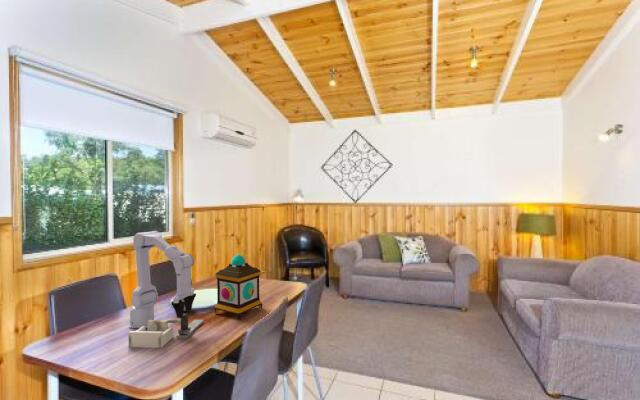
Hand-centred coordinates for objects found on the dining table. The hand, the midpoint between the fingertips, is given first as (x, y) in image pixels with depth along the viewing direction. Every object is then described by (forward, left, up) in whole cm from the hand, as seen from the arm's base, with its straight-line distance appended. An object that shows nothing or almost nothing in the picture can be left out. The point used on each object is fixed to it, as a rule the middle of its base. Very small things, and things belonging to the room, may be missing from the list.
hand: (184, 314), depth 135 cm
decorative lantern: (+15, +28, -10) cm, 33 cm away
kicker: (-6, -1, -9) cm, 11 cm away
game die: (-14, +27, -10) cm, 32 cm away
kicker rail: (0, +6, -9) cm, 11 cm away
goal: (-11, -6, -9) cm, 16 cm away
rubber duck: (-11, -5, -10) cm, 16 cm away
